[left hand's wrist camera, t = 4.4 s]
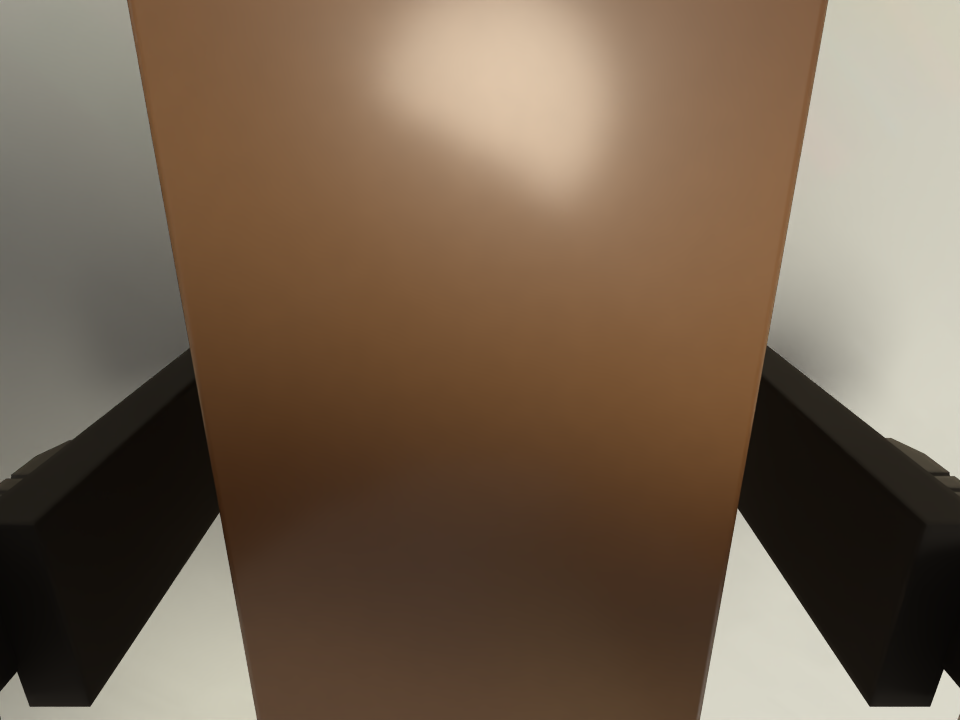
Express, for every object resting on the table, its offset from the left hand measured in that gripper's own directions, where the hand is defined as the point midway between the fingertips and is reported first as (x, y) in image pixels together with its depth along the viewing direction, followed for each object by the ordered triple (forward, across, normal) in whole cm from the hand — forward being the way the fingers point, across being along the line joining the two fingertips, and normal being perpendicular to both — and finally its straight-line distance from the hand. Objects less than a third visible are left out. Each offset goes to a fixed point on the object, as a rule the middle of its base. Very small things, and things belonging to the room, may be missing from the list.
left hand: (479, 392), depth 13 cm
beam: (+1, 0, -20) cm, 20 cm away
